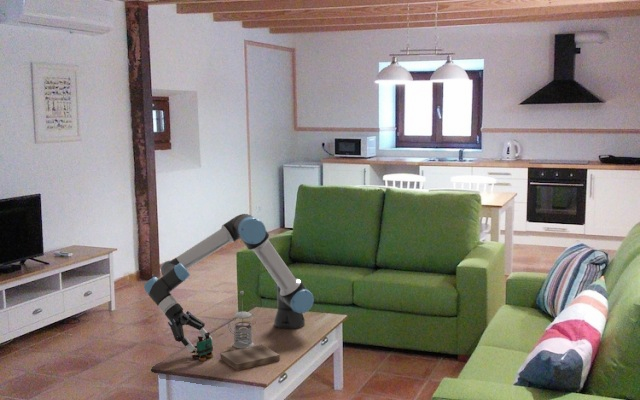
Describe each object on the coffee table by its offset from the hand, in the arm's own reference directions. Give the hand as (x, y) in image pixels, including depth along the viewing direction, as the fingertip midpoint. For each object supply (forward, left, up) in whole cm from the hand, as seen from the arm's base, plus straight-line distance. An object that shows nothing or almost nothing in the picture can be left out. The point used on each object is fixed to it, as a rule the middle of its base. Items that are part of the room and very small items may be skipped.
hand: (202, 345), depth 295 cm
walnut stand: (-16, +14, -5) cm, 22 cm away
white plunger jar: (-22, -6, -6) cm, 23 cm away
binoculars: (0, -1, -6) cm, 6 cm away
